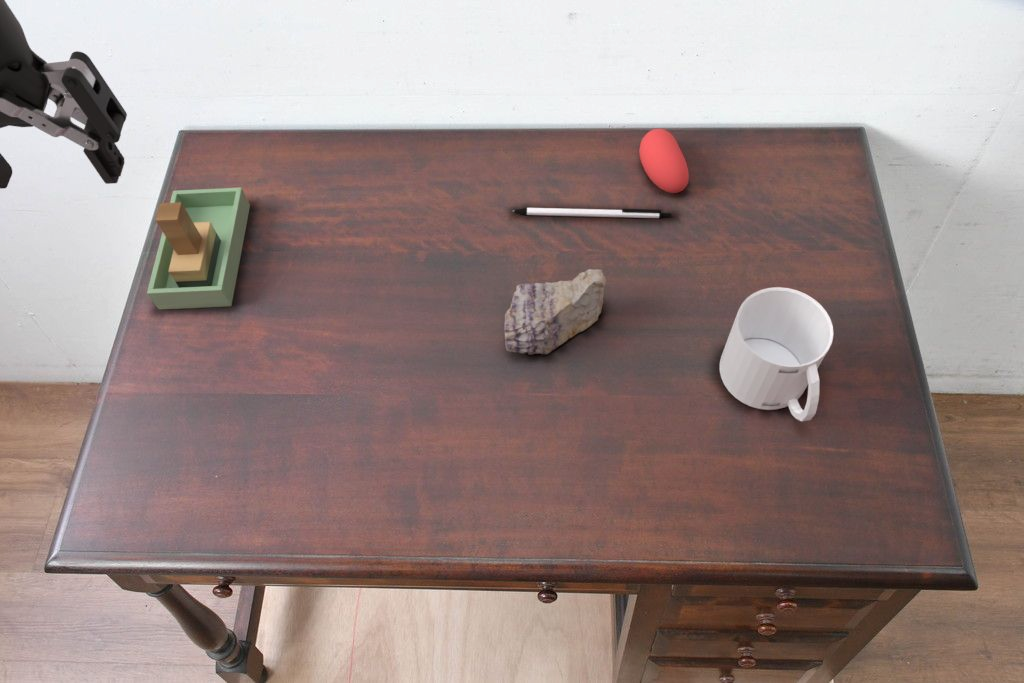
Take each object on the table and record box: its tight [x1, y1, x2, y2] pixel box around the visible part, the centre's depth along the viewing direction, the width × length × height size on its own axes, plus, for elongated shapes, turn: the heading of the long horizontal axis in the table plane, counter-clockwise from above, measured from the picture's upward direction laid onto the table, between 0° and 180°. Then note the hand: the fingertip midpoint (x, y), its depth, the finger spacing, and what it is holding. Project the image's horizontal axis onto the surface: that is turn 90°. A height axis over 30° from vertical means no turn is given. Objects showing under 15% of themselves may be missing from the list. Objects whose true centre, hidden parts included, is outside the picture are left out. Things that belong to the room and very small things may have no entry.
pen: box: [512, 207, 673, 219], centre depth 96 cm, size 1×19×1 cm, turn 86°
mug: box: [718, 286, 834, 422], centre depth 79 cm, size 12×9×9 cm
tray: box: [146, 186, 251, 311], centre depth 94 cm, size 15×8×3 cm, turn 2°
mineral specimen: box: [503, 268, 607, 355], centre depth 86 cm, size 13×7×6 cm, turn 126°
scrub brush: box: [154, 202, 221, 288], centre depth 89 cm, size 7×4×10 cm, turn 2°
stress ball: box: [638, 128, 690, 194], centre depth 98 cm, size 5×9×6 cm, turn 2°
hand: (60, 178), depth 61 cm, fingers open, 8 cm apart
